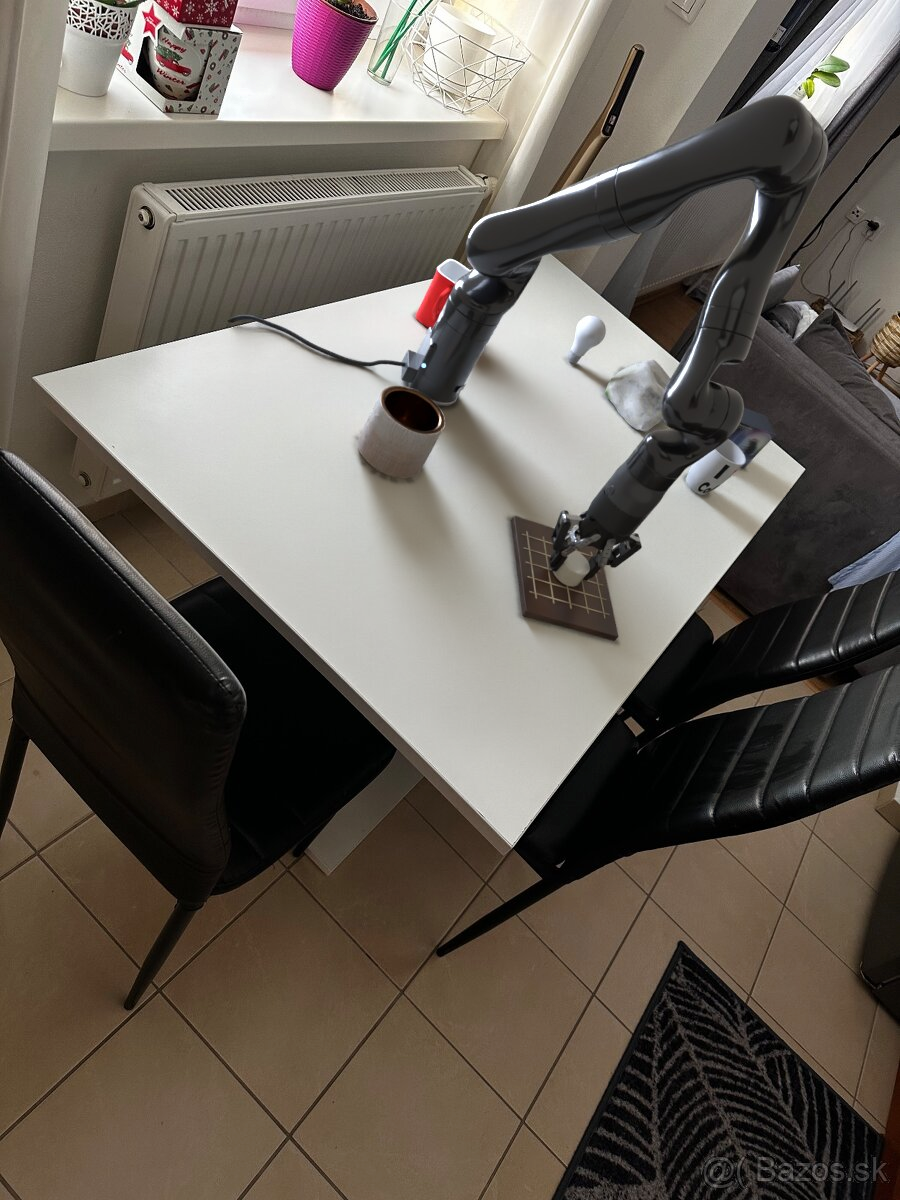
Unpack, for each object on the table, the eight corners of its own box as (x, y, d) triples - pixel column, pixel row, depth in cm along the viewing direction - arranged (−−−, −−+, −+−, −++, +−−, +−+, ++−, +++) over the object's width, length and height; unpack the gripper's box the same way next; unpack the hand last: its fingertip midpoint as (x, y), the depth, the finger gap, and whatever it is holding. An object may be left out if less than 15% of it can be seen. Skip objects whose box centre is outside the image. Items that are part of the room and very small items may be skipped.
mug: (427, 303, 169) (450, 256, 162) (462, 327, 170) (486, 281, 162) (403, 323, 161) (426, 275, 153) (439, 348, 161) (464, 301, 154)
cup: (694, 501, 167) (726, 464, 160) (672, 470, 171) (703, 434, 164) (719, 500, 172) (753, 464, 165) (698, 471, 175) (729, 435, 169)
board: (522, 615, 124) (526, 610, 123) (510, 520, 137) (514, 514, 136) (614, 641, 130) (619, 636, 129) (594, 546, 143) (598, 541, 142)
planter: (380, 422, 138) (403, 376, 132) (432, 463, 138) (458, 419, 131) (343, 446, 130) (365, 398, 124) (397, 490, 130) (423, 444, 123)
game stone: (554, 581, 130) (564, 569, 128) (550, 558, 134) (560, 545, 131) (582, 590, 132) (592, 578, 130) (577, 566, 135) (587, 554, 133)
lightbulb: (587, 367, 183) (615, 324, 175) (576, 374, 178) (604, 331, 171) (565, 349, 183) (592, 306, 176) (553, 356, 179) (581, 313, 171)
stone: (647, 345, 193) (697, 389, 192) (626, 371, 198) (676, 413, 196) (610, 362, 171) (667, 411, 169) (588, 391, 175) (643, 439, 174)
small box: (706, 458, 181) (739, 421, 174) (697, 437, 185) (729, 401, 178) (744, 470, 185) (778, 434, 178) (735, 450, 189) (767, 414, 182)
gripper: (665, 492, 126) (602, 566, 137) (582, 463, 121) (524, 542, 132) (676, 528, 121) (610, 601, 132) (590, 499, 116) (529, 577, 127)
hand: (568, 571), depth 132 cm, fingers closed on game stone, 5 cm apart
